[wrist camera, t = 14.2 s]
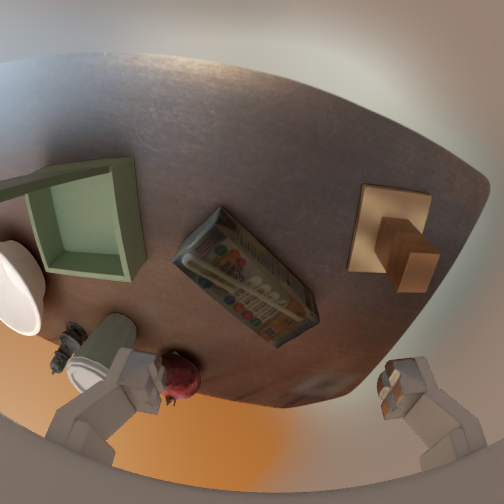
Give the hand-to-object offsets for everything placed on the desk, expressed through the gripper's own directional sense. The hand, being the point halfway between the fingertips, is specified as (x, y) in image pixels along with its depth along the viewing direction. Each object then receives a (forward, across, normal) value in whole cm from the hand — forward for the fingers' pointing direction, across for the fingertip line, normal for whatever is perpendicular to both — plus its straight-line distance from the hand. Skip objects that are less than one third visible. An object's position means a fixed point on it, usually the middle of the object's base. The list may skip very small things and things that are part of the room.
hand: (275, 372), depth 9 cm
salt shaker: (+27, +38, +32) cm, 57 cm away
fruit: (+27, +15, +35) cm, 47 cm away
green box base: (+27, +25, +5) cm, 37 cm away
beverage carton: (+27, +2, +14) cm, 30 cm away
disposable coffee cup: (+27, +25, +27) cm, 46 cm away
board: (+27, -16, +7) cm, 32 cm away
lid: (+13, +25, -3) cm, 28 cm away
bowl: (+27, +47, +17) cm, 57 cm away
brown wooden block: (+26, -16, +7) cm, 31 cm away
